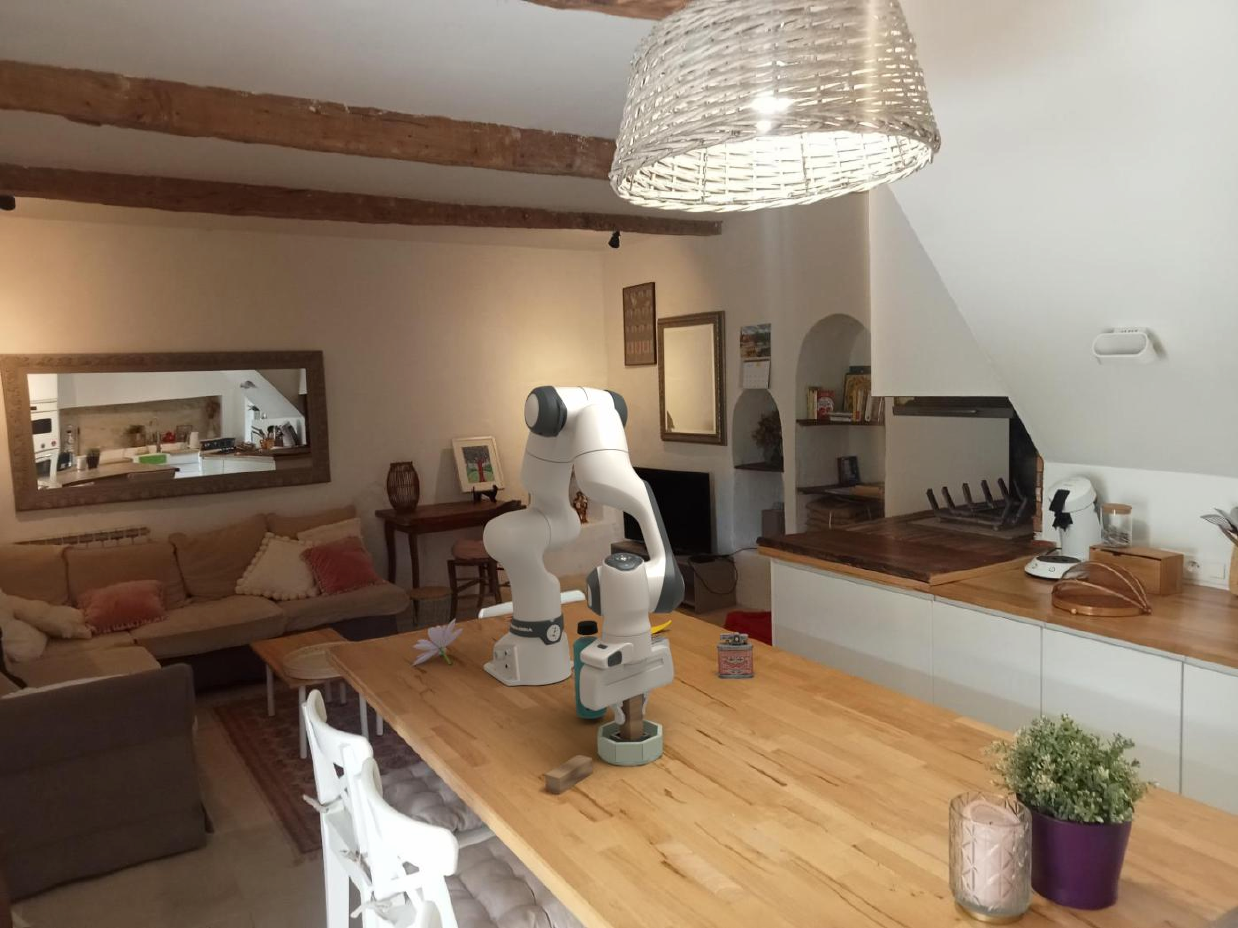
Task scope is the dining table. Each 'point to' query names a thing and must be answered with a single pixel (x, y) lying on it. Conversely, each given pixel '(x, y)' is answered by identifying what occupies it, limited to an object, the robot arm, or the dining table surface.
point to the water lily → (437, 642)
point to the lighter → (735, 657)
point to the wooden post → (632, 718)
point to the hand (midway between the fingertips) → (630, 719)
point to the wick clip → (617, 739)
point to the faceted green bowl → (630, 745)
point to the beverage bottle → (578, 646)
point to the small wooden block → (569, 774)
